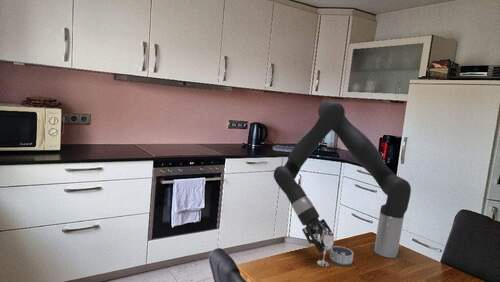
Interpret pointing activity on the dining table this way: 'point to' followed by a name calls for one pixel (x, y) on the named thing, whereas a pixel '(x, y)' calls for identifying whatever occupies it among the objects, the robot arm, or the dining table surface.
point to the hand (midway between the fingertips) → (327, 248)
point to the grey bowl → (341, 256)
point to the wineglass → (326, 245)
